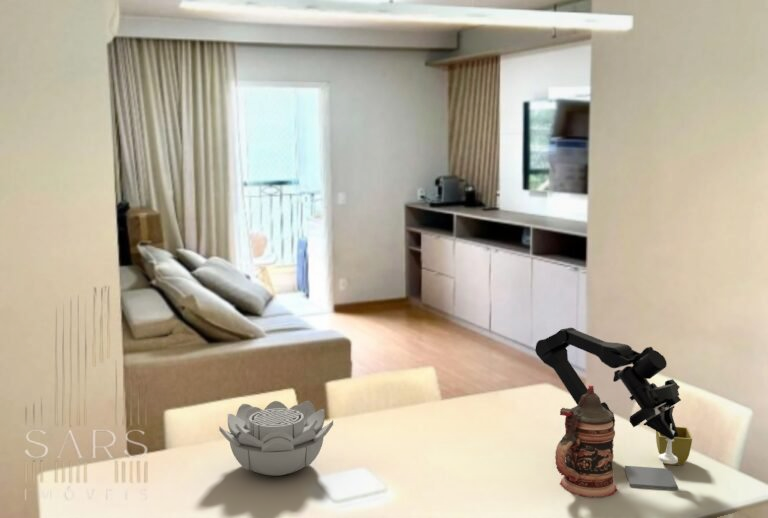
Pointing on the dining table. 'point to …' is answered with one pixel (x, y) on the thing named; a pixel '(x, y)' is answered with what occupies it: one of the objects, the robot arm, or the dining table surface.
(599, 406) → the beer stein
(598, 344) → the robot arm
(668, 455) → the chess piece
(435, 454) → the dining table surface
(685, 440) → the flower pot
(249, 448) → the decorative bowl
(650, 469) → the slate tile
